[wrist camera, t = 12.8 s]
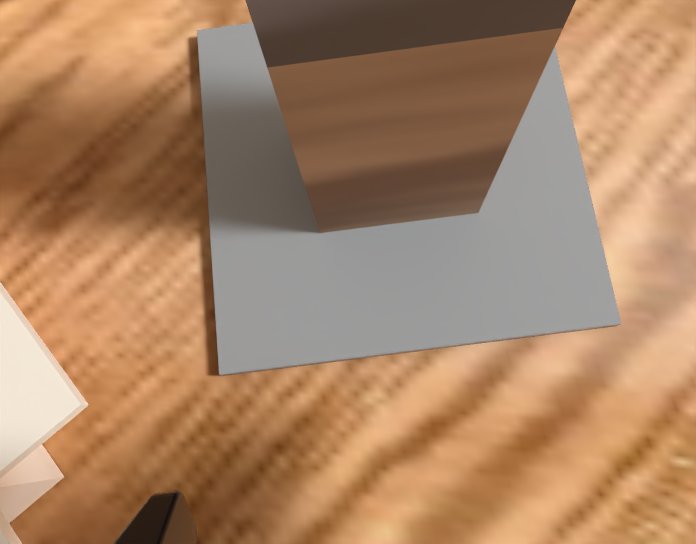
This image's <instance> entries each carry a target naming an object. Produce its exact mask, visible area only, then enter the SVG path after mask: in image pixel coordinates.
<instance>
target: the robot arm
mask: <svg viewBox="0 0 696 544" xmlns="http://www.w3.org/2000/svg"><path fill="white" fill-rule="evenodd" d="M113 544H197V533H196V526H195V523H194V521H193V518H192V515H191V513H190V510H189V508H188V505H187V502H186V500H185V497H184V495H183V494H182V493H181V492H180V491H170V492H162V493H156V494H154V495H153V496H151V497H150V498H149V499H148V501H147V502H146V503H145V504H144V506H143V507H142V508H141V509H140V511H139V512H138V513H137V514H136V516H135V517H134V518H133V519H132V521H131V522H130V523H129V524H128V526H127V527H126V528H125V529H124V531H123V532H122V533H121V534H120V536H119V537H118V538H117V539H116V541H115V542H114V543H113Z"/></svg>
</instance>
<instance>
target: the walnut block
mask: <svg viewBox="0 0 696 544" xmlns="http://www.w3.org/2000/svg"><path fill="white" fill-rule="evenodd" d="M575 1H576V0H246V3H247V6H248V9H249V12H250V15H251V18H252V22H253V25H254V28H255V31H256V34H257V37H258V40H259V44H260V47H261V50H262V53H263V56H264V59H265V62H266V66H267V69H268V72H269V75H270V78H271V81H272V84H273V87H274V91H275V94H276V97H277V100H278V103H279V106H280V109H281V113H282V116H283V119H284V122H285V125H286V128H287V131H288V135H289V138H290V141H291V144H292V147H293V150H294V153H295V157H296V160H297V163H298V166H299V169H300V172H301V175H302V179H303V182H304V185H305V188H306V191H307V194H308V197H309V201H310V204H311V207H312V210H313V213H314V216H315V219H316V222H317V226H318V229H319V232H320V233H326V232H334V231H341V230H349V229H357V228H365V227H373V226H380V225H388V224H396V223H404V222H412V221H419V220H427V219H435V218H443V217H451V216H459V215H466V214H474V213H479V211H480V208H481V206H482V204H483V202H484V200H485V197H486V195H487V193H488V191H489V189H490V187H491V184H492V182H493V180H494V178H495V176H496V173H497V171H498V169H499V167H500V165H501V163H502V160H503V158H504V156H505V154H506V152H507V149H508V147H509V145H510V143H511V141H512V138H513V136H514V134H515V132H516V130H517V128H518V125H519V123H520V121H521V119H522V117H523V114H524V112H525V110H526V108H527V106H528V104H529V101H530V99H531V97H532V95H533V93H534V90H535V88H536V86H537V84H538V82H539V80H540V77H541V75H542V73H543V71H544V69H545V66H546V64H547V62H548V60H549V58H550V56H551V53H552V51H553V49H554V47H555V45H556V42H557V40H558V38H559V36H560V34H561V31H562V29H563V27H564V25H565V23H566V21H567V18H568V16H569V14H570V12H571V10H572V7H573V5H574V3H575Z"/></svg>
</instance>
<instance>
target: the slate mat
mask: <svg viewBox="0 0 696 544" xmlns="http://www.w3.org/2000/svg"><path fill="white" fill-rule="evenodd" d="M197 39H198V54H199V70H200V85H201V101H202V116H203V132H204V147H205V163H206V179H207V194H208V210H209V225H210V241H211V256H212V272H213V287H214V303H215V318H216V334H217V349H218V365H219V375H221V376H226V375H234V374H241V373H249V372H257V371H265V370H273V369H281V368H289V367H297V366H305V365H313V364H320V363H328V362H336V361H344V360H352V359H360V358H368V357H376V356H384V355H391V354H399V353H407V352H415V351H423V350H431V349H439V348H447V347H455V346H463V345H470V344H478V343H486V342H494V341H502V340H510V339H518V338H526V337H534V336H542V335H549V334H557V333H565V332H573V331H581V330H589V329H597V328H605V327H613V326H617V325H620V324H621V321H620V317H619V312H618V308H617V304H616V300H615V296H614V291H613V287H612V283H611V279H610V275H609V271H608V266H607V262H606V258H605V254H604V250H603V245H602V241H601V237H600V233H599V229H598V225H597V220H596V216H595V212H594V208H593V204H592V199H591V195H590V191H589V187H588V183H587V178H586V174H585V170H584V166H583V162H582V158H581V153H580V149H579V145H578V141H577V137H576V132H575V128H574V124H573V120H572V116H571V112H570V107H569V103H568V99H567V95H566V91H565V86H564V82H563V78H562V74H561V70H560V65H559V61H558V57H557V53H556V49H555V47H554V49H553V51H552V53H551V56H550V58H549V60H548V62H547V64H546V66H545V69H544V71H543V73H542V75H541V77H540V80H539V82H538V84H537V86H536V88H535V90H534V93H533V95H532V97H531V99H530V101H529V104H528V106H527V108H526V110H525V112H524V114H523V117H522V119H521V121H520V123H519V125H518V128H517V130H516V132H515V134H514V136H513V138H512V141H511V143H510V145H509V147H508V149H507V152H506V154H505V156H504V158H503V160H502V163H501V165H500V167H499V169H498V171H497V173H496V176H495V178H494V180H493V182H492V184H491V187H490V189H489V191H488V193H487V195H486V197H485V200H484V202H483V204H482V206H481V208H480V211H479V213H474V214H466V215H459V216H451V217H443V218H435V219H427V220H419V221H412V222H404V223H396V224H388V225H380V226H373V227H365V228H357V229H349V230H341V231H334V232H326V233H320V232H319V229H318V226H317V222H316V219H315V216H314V213H313V210H312V207H311V204H310V201H309V197H308V194H307V191H306V188H305V185H304V182H303V179H302V175H301V172H300V169H299V166H298V163H297V160H296V157H295V153H294V150H293V147H292V144H291V141H290V138H289V135H288V131H287V128H286V125H285V122H284V119H283V116H282V113H281V109H280V106H279V103H278V100H277V97H276V94H275V91H274V87H273V84H272V81H271V78H270V75H269V72H268V69H267V66H266V62H265V59H264V56H263V53H262V50H261V47H260V44H259V40H258V37H257V34H256V31H255V28H254V25H253V23H246V24H239V25H232V26H224V27H217V28H210V29H203V30H197Z"/></svg>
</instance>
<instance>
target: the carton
mask: <svg viewBox="0 0 696 544" xmlns="http://www.w3.org/2000/svg"><path fill="white" fill-rule="evenodd" d="M87 406H88V403H87V402H86V401H85V399H84V398H83V396H82V395H81V394H80V392H79V391H78V389H77V388H76V387H75V385H74V384H73V383H72V381H71V380H70V378H69V377H68V376H67V374H66V373H65V371H64V370H63V369H62V367H61V366H60V364H59V363H58V362H57V360H56V359H55V358H54V356H53V355H52V353H51V352H50V351H49V349H48V348H47V346H46V345H45V344H44V342H43V341H42V340H41V338H40V337H39V335H38V334H37V333H36V331H35V330H34V328H33V327H32V326H31V324H30V323H29V321H28V320H27V319H26V317H25V316H24V315H23V313H22V312H21V310H20V309H19V308H18V306H17V305H16V303H15V302H14V301H13V299H12V298H11V296H10V295H9V294H8V292H7V291H6V290H5V288H4V287H3V285H2V284H1V283H0V544H22V543H21V541H20V540H19V538H18V536H17V535H16V533H15V532H14V530H13V529H12V527H11V526H10V524H9V523H10V522H12V521H13V520H14V519H15V518H16V517H17V516H19V515H20V514H21V513H22V512H23V511H25V510H26V509H27V508H28V507H29V506H30V505H32V504H33V503H34V502H35V501H36V500H38V499H39V498H40V497H41V496H42V495H44V494H45V493H46V492H47V491H48V490H49V489H51V488H52V487H53V486H54V485H55V484H57V483H58V482H59V481H60V480H61V479H63V478H64V476H63V474H62V473H61V471H60V470H59V468H58V467H57V465H56V464H55V462H54V461H53V459H52V458H51V457H50V455H49V454H48V452H47V451H46V449H45V448H44V446H43V445H42V444H43V443H44V442H45V441H46V440H47V439H49V438H50V437H51V436H52V435H53V434H55V433H56V432H57V431H58V430H59V429H61V428H62V427H63V426H64V425H65V424H67V423H68V422H69V421H70V420H72V419H73V418H74V417H75V416H76V415H78V414H79V413H80V412H81V411H82V410H84V409H85V408H86V407H87Z"/></svg>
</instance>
